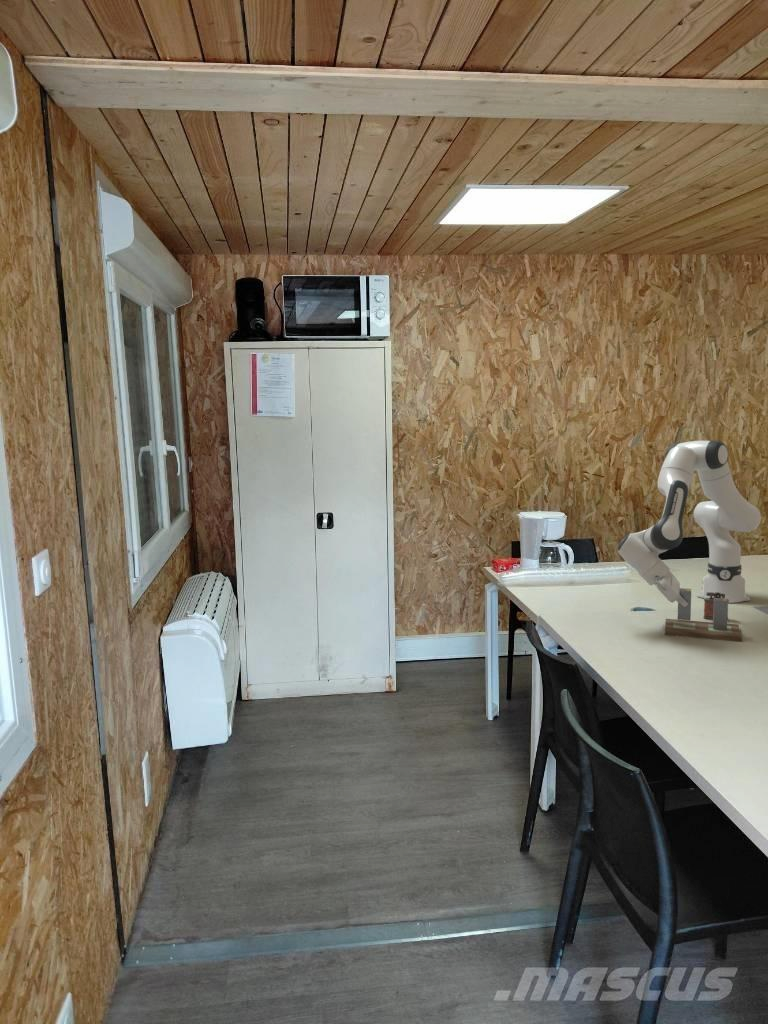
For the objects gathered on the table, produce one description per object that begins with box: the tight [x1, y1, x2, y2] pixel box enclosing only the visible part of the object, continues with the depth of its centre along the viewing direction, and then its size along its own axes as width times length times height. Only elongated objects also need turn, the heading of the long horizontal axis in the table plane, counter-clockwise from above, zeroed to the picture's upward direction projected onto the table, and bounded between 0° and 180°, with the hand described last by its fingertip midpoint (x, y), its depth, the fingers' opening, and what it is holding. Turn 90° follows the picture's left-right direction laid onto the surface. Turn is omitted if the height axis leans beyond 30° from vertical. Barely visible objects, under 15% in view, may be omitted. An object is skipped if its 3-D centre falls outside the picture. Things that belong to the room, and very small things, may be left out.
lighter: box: [703, 592, 729, 621], centre depth 238 cm, size 8×3×10 cm, turn 74°
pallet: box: [664, 618, 743, 642], centre depth 225 cm, size 14×23×2 cm, turn 66°
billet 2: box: [712, 598, 729, 631], centre depth 222 cm, size 4×4×10 cm
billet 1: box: [677, 587, 692, 621], centre depth 226 cm, size 4×4×10 cm
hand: (686, 603), depth 226 cm, fingers closed on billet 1, 4 cm apart
